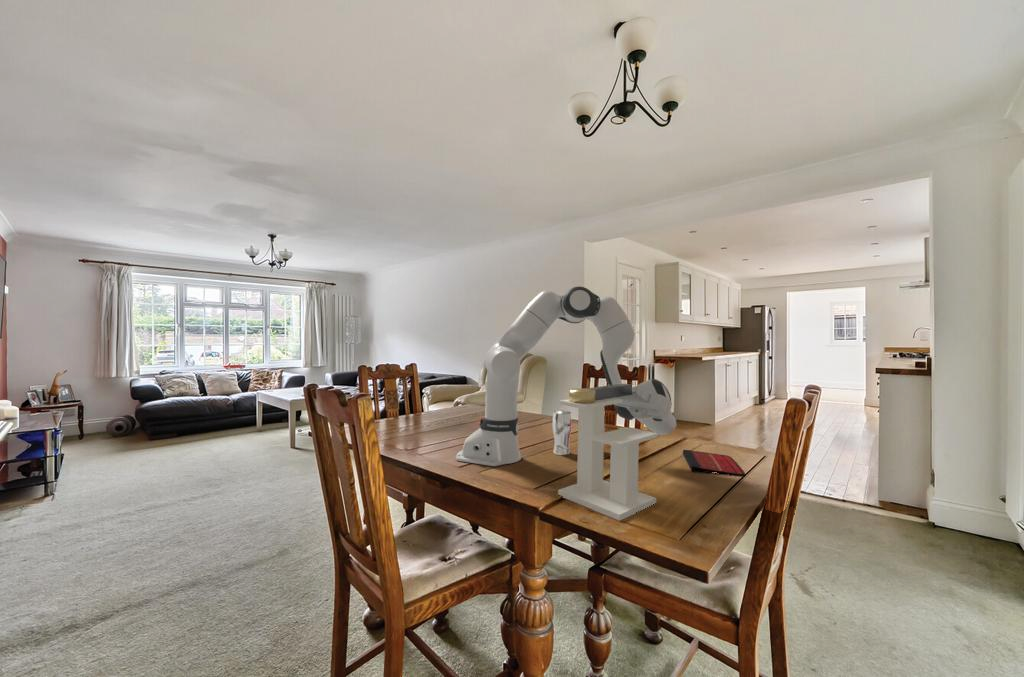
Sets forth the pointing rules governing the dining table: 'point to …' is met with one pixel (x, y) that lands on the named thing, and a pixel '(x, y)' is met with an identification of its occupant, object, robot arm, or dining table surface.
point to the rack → (623, 486)
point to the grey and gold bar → (598, 393)
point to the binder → (712, 463)
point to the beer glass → (562, 431)
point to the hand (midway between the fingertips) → (622, 388)
